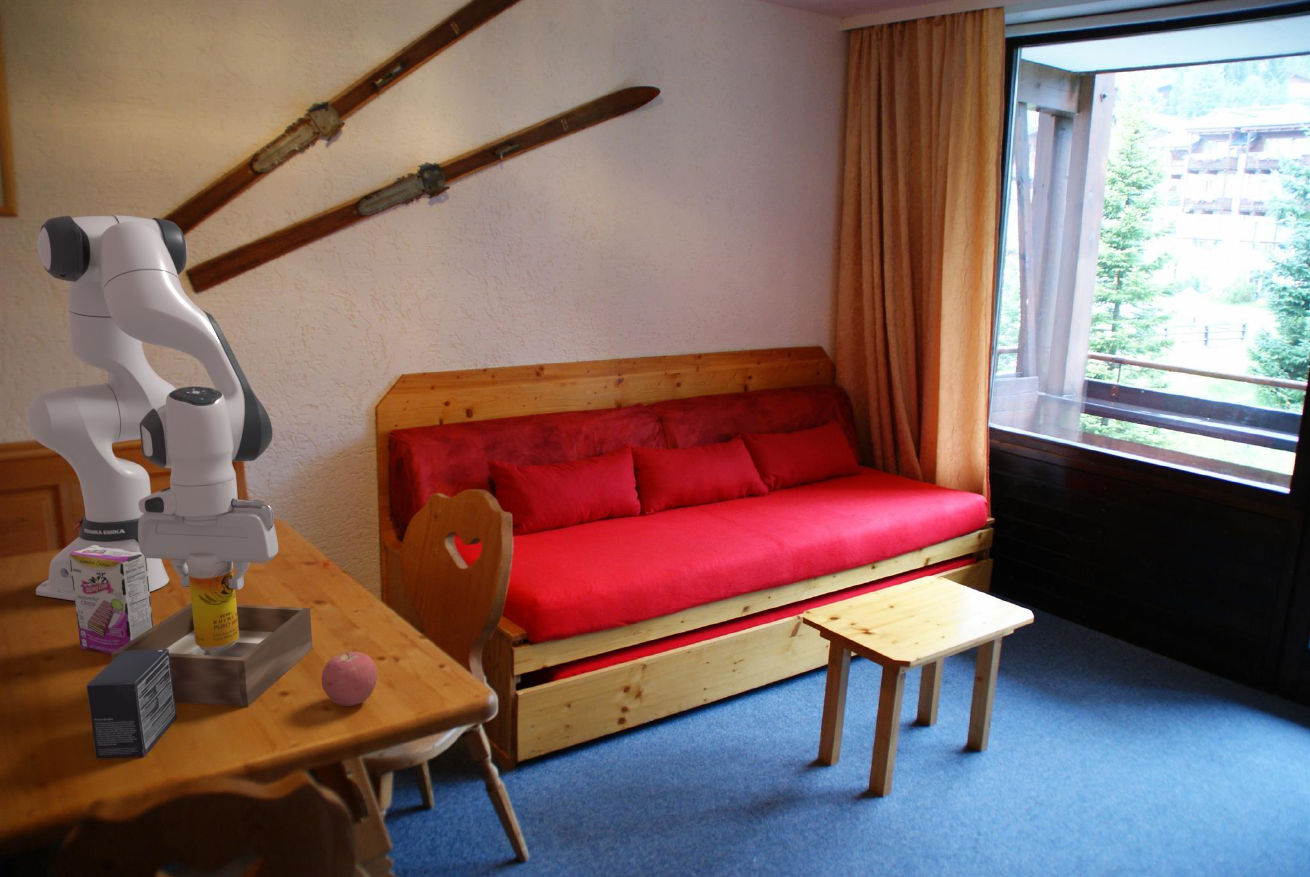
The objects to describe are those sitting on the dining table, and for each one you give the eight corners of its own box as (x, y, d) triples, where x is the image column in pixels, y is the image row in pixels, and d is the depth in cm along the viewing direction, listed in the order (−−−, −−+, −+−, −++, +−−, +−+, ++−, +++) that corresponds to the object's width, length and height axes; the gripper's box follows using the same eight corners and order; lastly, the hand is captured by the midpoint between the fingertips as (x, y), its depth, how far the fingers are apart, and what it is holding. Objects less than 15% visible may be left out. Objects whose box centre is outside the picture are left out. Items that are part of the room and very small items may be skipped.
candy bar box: (78, 650, 154) (66, 552, 151) (104, 638, 159) (94, 543, 156) (131, 660, 151) (121, 560, 147) (157, 648, 155) (147, 551, 152)
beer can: (222, 654, 142) (213, 558, 139) (186, 650, 144) (177, 554, 140) (248, 638, 148) (240, 545, 145) (213, 634, 149) (205, 542, 146)
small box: (129, 719, 132) (121, 648, 130) (178, 718, 133) (171, 647, 131) (92, 759, 122) (83, 683, 120) (145, 758, 122) (137, 681, 120)
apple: (356, 719, 133) (353, 665, 131) (313, 710, 135) (309, 656, 134) (388, 696, 139) (386, 644, 138) (346, 687, 142) (343, 637, 140)
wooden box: (116, 698, 138) (111, 653, 137) (196, 642, 157) (192, 602, 156) (248, 706, 136) (244, 660, 134) (312, 648, 155) (309, 608, 154)
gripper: (282, 495, 143) (288, 583, 146) (154, 490, 145) (162, 577, 148) (261, 506, 137) (268, 597, 140) (127, 501, 139) (136, 591, 142)
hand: (212, 587), depth 144 cm, fingers closed on beer can, 6 cm apart
